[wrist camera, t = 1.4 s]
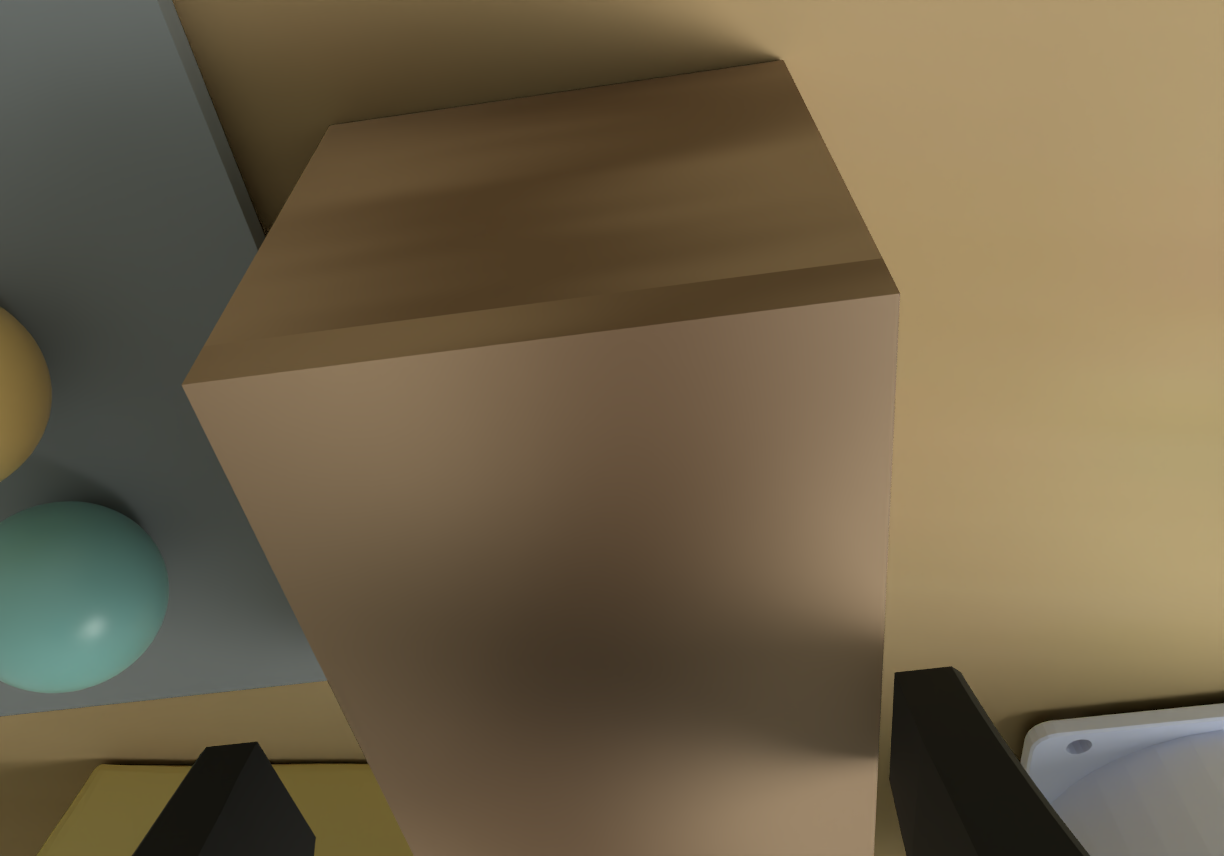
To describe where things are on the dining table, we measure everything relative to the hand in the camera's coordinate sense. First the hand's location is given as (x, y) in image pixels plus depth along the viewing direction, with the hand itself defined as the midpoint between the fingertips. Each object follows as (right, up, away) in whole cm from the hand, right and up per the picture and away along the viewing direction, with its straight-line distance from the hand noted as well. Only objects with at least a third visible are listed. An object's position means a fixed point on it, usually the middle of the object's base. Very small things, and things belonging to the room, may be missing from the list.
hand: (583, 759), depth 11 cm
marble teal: (-8, +2, +6) cm, 10 cm away
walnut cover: (0, +4, +5) cm, 6 cm away
